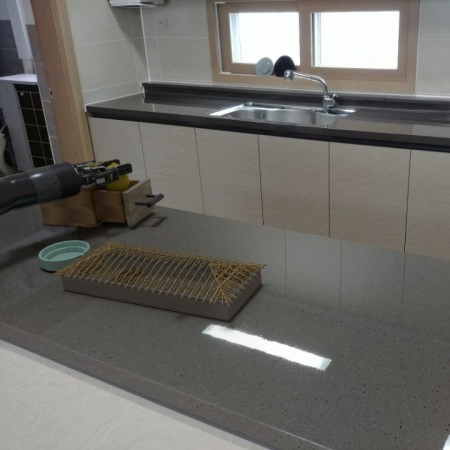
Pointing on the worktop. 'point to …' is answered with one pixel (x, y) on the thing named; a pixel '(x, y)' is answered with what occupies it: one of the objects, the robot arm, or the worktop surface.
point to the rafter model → (166, 266)
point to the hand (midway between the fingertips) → (124, 165)
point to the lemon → (119, 182)
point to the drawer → (125, 202)
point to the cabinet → (72, 210)
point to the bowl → (63, 254)
